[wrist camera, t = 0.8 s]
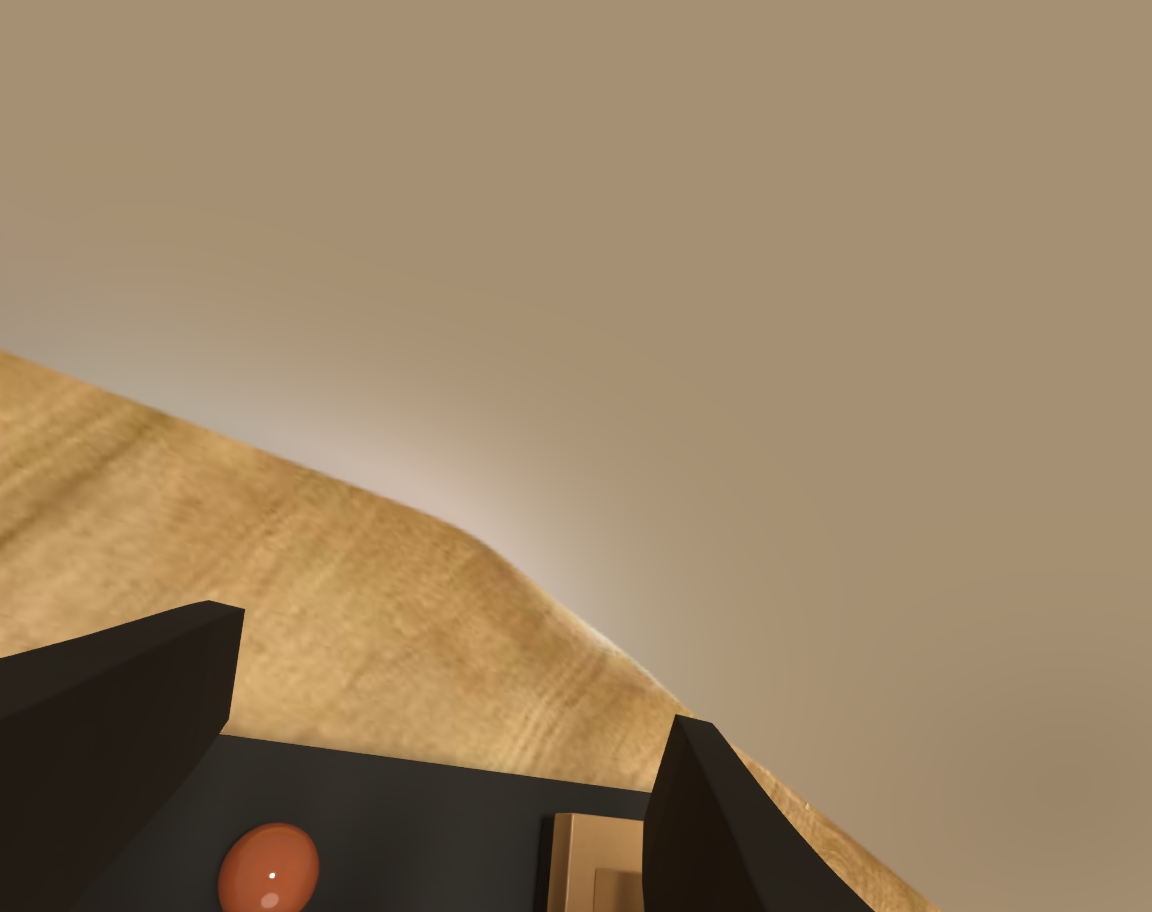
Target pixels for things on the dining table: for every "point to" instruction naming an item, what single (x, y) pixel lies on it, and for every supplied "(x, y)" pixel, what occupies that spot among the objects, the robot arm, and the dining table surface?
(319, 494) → the dining table surface
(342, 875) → the mat
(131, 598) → the dining table surface
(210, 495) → the dining table surface
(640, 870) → the brush
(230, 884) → the orange glossy ball
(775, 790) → the dining table surface
